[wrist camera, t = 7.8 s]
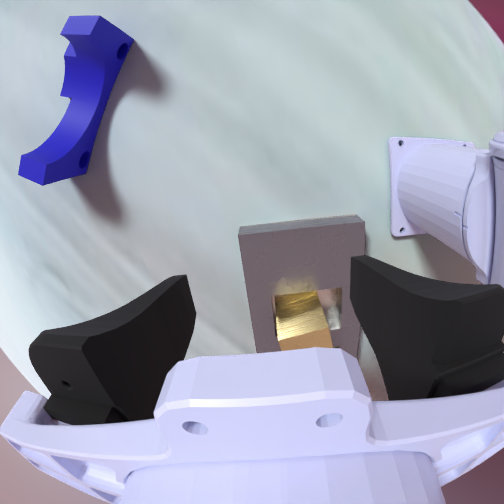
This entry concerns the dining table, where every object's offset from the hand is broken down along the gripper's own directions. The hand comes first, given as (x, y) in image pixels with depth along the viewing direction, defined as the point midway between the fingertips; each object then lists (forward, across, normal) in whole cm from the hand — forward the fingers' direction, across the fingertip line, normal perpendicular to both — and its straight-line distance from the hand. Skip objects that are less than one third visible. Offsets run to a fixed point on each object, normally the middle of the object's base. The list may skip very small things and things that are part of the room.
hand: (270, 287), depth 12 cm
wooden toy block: (+10, -2, +10) cm, 14 cm away
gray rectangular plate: (+10, -2, +10) cm, 14 cm away
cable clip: (+10, +13, -13) cm, 21 cm away
